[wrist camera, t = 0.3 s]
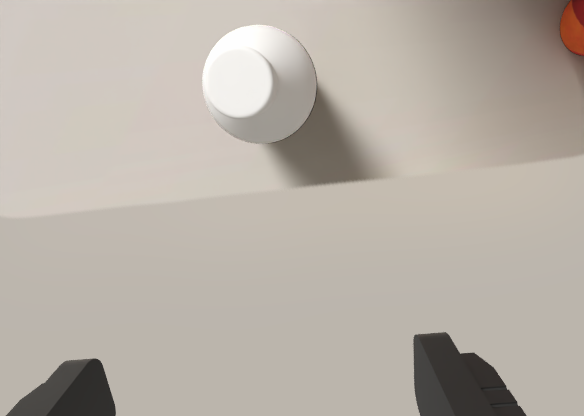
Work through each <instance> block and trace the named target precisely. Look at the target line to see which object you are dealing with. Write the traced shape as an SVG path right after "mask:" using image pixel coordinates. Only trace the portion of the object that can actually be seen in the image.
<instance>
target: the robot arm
mask: <svg viewBox="0 0 584 416" xmlns="http://www.w3.org/2000/svg"><path fill="white" fill-rule="evenodd" d="M414 382H415V383H414V385H415V395H416V401H417V405H418V409H419V412H420V416H526V414H525V413H524V412H523V410H522V408H521V407H520V406H518V405H517V401H516V400H515V398H514V397H513V395H512V394H511V393H510V391H509V390H507V388H506V385H505V384H504V382H503V381H502V379H501V378H500V376H499V375H498V373H497V372H496V370H495V369H494V368H493V367H492V366H491V365H489V364H488V363H487V362H485V361H484V360H483V359H482V358H480V357H479V356H478V355H476V354H475V353H463V354H460V353H459V351H458V350H457V348H456V346H455V345H454V343H453V341H452V339H451V338H450V336H449V335H448V334H447V333H446V332H444V333H431V334H418V335H415V336H414ZM115 415H116V411H115V404H114V401H113V398H112V394H111V391H110V388H109V384H108V381H107V378H106V375H105V372H104V368H103V365H102V363H101V361H100V360H98V359H83V360H71V361H65V362H64V363H62V364H61V365H60V366H59V368H58V369H57V370H56V371H55V372H54V373H53V374H52V375H51V376H50V378H49V379H48V380H47V381H46V382H45V383H44V384H41V385H40V386H39V387H37V388H36V389H35V390H33V391H32V392H31V393H29V394H28V395H27V396H25V397H24V398H22V399H21V400H20V401H19V402H18V403H17V404H16V405H15V406H14V408H13V409H12V410H11V411H10V412H9V413H8V414H7V415H6V416H115Z"/></svg>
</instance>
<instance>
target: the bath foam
mask: <svg viewBox="0 0 584 416" xmlns="http://www.w3.org/2000/svg"><path fill="white" fill-rule="evenodd" d="M202 88H203V95H204V99H205V102H206V105H207V108H208V110H209V112H210V114H211V115H212V117H213V118H214V120H215V121H216V122H217V123H218V125H219V126H220V127H221V128H223V129H224V130H225V131H226V132H227V133H229V134H230V135H232V136H234V137H235V138H238V139H240V140H242V141H246V142H250V143H256V144H266V143H273V142H277V141H280V140H283V139H285V138H287V137H289V136H290V135H292V134H293V133H295V132H296V131H297V130H298V129H299V128H300V127H301V126H302V125H303V124H304V123H305V121H306V120H307V119H308V117H309V115H310V113H311V111H312V109H313V106H314V103H315V100H316V94H317V77H316V72H315V68H314V65H313V62H312V60H311V58H310V56H309V54H308V53H307V51H306V50H305V48H304V47H303V46H302V45H301V43H300V42H299V41H298V40H296V39H295V38H294V37H293V36H291V35H290V34H288V33H287V32H285V31H283V30H281V29H278V28H275V27H272V26H267V25H250V26H245V27H241V28H238V29H236V30H233V31H232V32H230V33H228V34H227V35H225V36H224V37H223V38H222V39H221V40H219V42H218V43H217V44H216V45H215V46H214V47H213V49H212V50H211V52H210V54H209V56H208V58H207V60H206V63H205V66H204V70H203V78H202Z"/></svg>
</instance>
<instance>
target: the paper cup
mask: <svg viewBox="0 0 584 416" xmlns="http://www.w3.org/2000/svg"><path fill="white" fill-rule="evenodd" d="M560 35H561V38H562V41H563V43H564V45H565V46H566V47H567V48H568V49H569V50H570V51H571V52H573V53H575V54H578V55H582V56H584V0H571V1H570V2H569V3H568V5H567V6H566V8H565V10H564V12H563V14H562V17H561V21H560Z"/></svg>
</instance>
